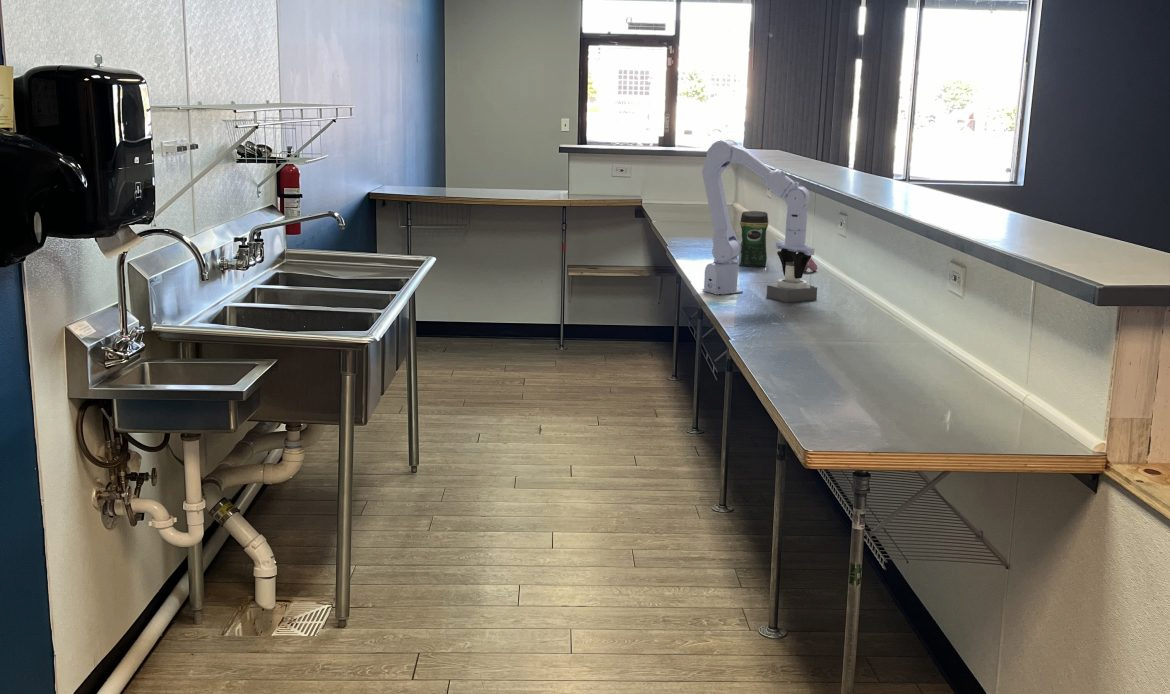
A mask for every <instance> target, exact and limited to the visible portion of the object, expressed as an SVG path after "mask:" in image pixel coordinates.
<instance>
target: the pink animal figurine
mask: <svg viewBox="0 0 1170 694" xmlns="http://www.w3.org/2000/svg"><path fill="white" fill-rule="evenodd" d="M808 269H810V270H811V271H812V272H814V271H815V272H817V271H818V265H817V264H816V262H815V261H814V260H813V258H812V257H811V258H810V260H809V261H808V263H807V265H806V267H805V269H804V272H806V271H808ZM816 270H817V271H816Z"/></svg>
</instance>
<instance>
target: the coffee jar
mask: <svg viewBox="0 0 1170 694" xmlns="http://www.w3.org/2000/svg"><path fill="white" fill-rule="evenodd" d="M768 215H769V214H768V212H767V211H760V210H750V211H748V210H747V211H743V212H742V213H741V217H740V221H739V225H740V229H741V236H740V237H741V239H740V244H741V252H740V254H739V255H738V260H739V262H738V265H740V266H744V267H754V268H755V267H764V266H765V267H766V265H767V263H768V262H767V261H768V256H767V254H768V253H767V229H768V227H769V216H768Z"/></svg>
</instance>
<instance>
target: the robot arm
mask: <svg viewBox="0 0 1170 694" xmlns="http://www.w3.org/2000/svg"><path fill="white" fill-rule="evenodd" d="M730 164H739V165H741V164H742V165H743V166H745V167H746V168H748V169H749V170H751V171H752V172H754V173H755V174H756V175H758V176H759V177H761V178H762V179H763V180H764V183H765V187H767V189H769V190H771V191H772V192H773V193H774V194H776V195H777V196H778V197H780V198H781V199H783V200H784V202H785V204H786V205H787V208H786V210H787V211H786V219H785V220H786V221H785V232H784V234H785V235H784V237H785V238H784V241H776V242H775V249H776V250H777V249H778V250H777V253H776V254H777V256H778V258H779V261H780V264H781V268H782V273H783V276H784V277H785V268H786V261H794V277H795V278H796V279H798V278H800V279H802V278H803V275H804V272H805V271H804V269H805V267H806V265H807V263H808V261H809V260H810V258H812V256H815V248H813V247H811V246H808V244H806V240H807V239H806V236H807V223H808V222H807V221H808V203H809V202H810V200H811V194H810V191H809V189H807V187H806V186H803V185H800V183H799V182H798V181H794V180H793V179H791V178H790V177H789V176H787V172H786V171H785V170H780V169H774V170H772V169H771V168H770V167H769V166H768V165H766V164H765V163H763V162H762V161H761V160H760V159H759V158H758V157H756V155H754V154H753V153H751V151H749V150H748V149H747V148H746V147H744V146H743V145H741V144H738V143H737V142H736V141H735V140H733V139H726V140H717V141H715V142H713V144H712V145H710V147H709V148H708V149H707V150H706V157H705V160H704V164H703V168H702V170H701V175H702V179H703V184H704V189H705V193H706V199H707V203H708V209H709V213H710V217H711V222H712V227H713V236H712V243H713V244H712V245H713V246H712V250H711V252H712V256H713V262H712V263H711V262H710V263H708V264H707V265H706V266H705V268H704V278H703V279H704V280H703V283H704V284H703V288H702V289H701V290H702V291H704V292H707V293H709V294H710V293H711V294H714V295H717V294H718V296H719V294H721V295H729V294H730V293H731V294H738V293H739V294H741V293H744V290H741V289H738V282H739V280H738V277H739V258H738V257H739V254H740V252H741V241H739V240H738V238H737V236H736V232H735V230H734V228H732V223H731V219H730V214H729V209H728V204H727V200H726V199H727V198H726V194H725V189H724V185H723V180H722V174H723V172H724V171H725V170H726V168H727V166H728V165H730ZM779 250H780V251H779ZM731 294H730V295H731Z"/></svg>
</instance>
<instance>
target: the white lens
mask: <svg viewBox="0 0 1170 694" xmlns="http://www.w3.org/2000/svg"><path fill="white" fill-rule="evenodd" d="M784 279H785V282H787V283H800V279H801V278H798V279H796V278H795V277H794V261H786V268H785V276H784Z"/></svg>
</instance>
